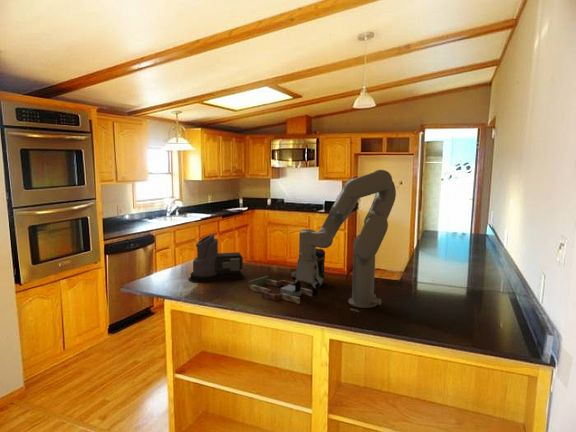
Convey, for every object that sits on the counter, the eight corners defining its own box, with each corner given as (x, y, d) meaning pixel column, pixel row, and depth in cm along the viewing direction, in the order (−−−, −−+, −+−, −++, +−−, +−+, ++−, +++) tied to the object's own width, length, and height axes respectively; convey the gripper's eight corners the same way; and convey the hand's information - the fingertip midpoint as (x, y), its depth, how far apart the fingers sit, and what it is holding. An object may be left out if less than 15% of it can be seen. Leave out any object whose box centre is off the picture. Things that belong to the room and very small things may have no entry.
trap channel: (321, 294, 184) (321, 286, 183) (292, 306, 168) (292, 297, 167) (271, 281, 204) (271, 274, 204) (242, 291, 188) (242, 283, 187)
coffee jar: (320, 288, 194) (321, 252, 191) (305, 286, 197) (306, 250, 194) (326, 283, 202) (327, 248, 200) (312, 281, 206) (312, 247, 203)
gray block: (301, 295, 183) (301, 287, 182) (292, 299, 177) (292, 291, 177) (289, 292, 187) (289, 284, 187) (280, 296, 182) (280, 288, 181)
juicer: (188, 284, 198) (187, 237, 195) (187, 275, 213) (186, 232, 210) (246, 280, 207) (246, 235, 204) (241, 272, 222) (241, 230, 219)
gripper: (327, 258, 171) (326, 295, 173) (297, 252, 182) (296, 287, 184) (318, 261, 165) (316, 300, 167) (287, 255, 176) (286, 291, 178)
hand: (306, 293), depth 176 cm, fingers open, 9 cm apart
